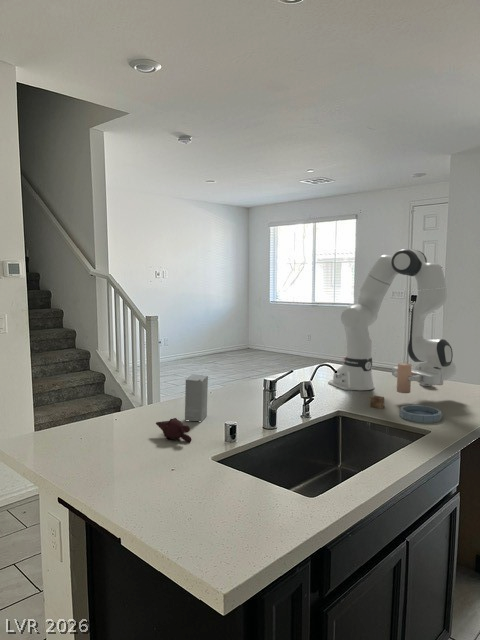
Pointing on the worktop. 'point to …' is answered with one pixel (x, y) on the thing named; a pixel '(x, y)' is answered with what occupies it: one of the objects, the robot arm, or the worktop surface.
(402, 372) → the peach tapered cylinder
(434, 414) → the dish
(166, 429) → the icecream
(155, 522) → the worktop surface
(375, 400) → the walnut block
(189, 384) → the skincare box
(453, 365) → the robot arm
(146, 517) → the worktop surface
